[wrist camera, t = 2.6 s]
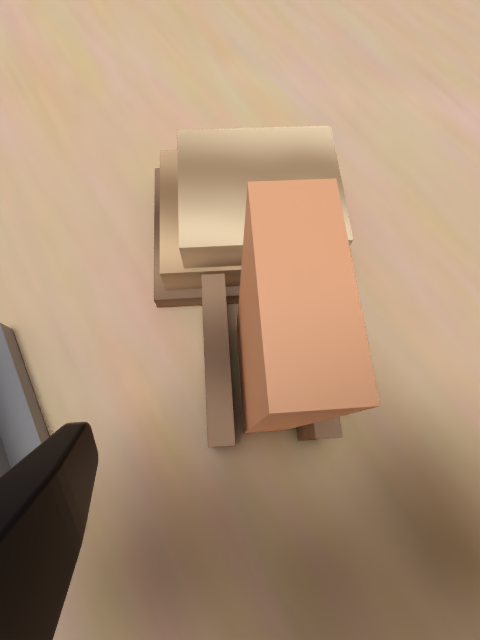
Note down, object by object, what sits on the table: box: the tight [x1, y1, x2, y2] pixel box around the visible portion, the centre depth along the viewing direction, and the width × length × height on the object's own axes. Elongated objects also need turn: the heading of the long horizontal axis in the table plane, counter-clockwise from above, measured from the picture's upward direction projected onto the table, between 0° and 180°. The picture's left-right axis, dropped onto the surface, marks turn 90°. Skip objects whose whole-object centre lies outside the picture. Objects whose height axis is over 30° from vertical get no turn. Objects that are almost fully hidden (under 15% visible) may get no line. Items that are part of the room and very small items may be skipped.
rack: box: [154, 125, 353, 447], centre depth 17 cm, size 15×10×5 cm, turn 4°
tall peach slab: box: [237, 178, 380, 433], centre depth 12 cm, size 5×2×11 cm, turn 4°
